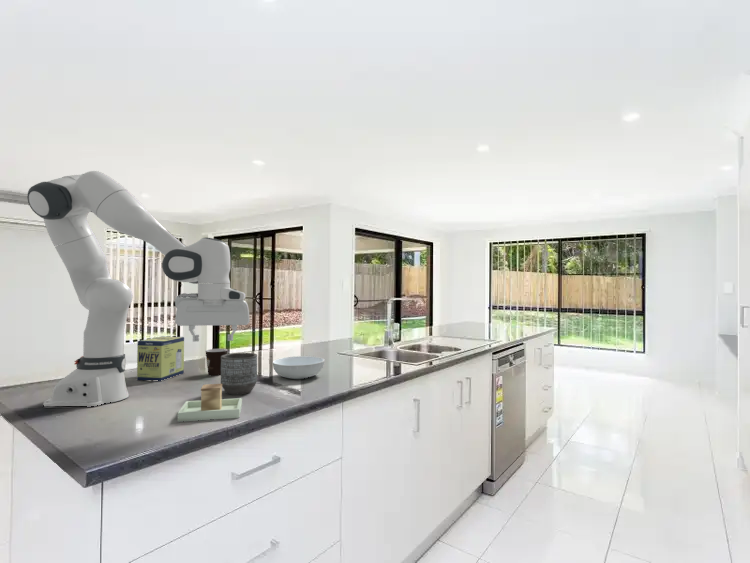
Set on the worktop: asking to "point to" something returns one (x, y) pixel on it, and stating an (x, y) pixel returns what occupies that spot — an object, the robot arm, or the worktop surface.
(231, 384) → the planter
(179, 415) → the tray
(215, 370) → the coffee mug
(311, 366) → the serving bowl
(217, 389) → the box
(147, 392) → the worktop surface
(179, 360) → the protein box
